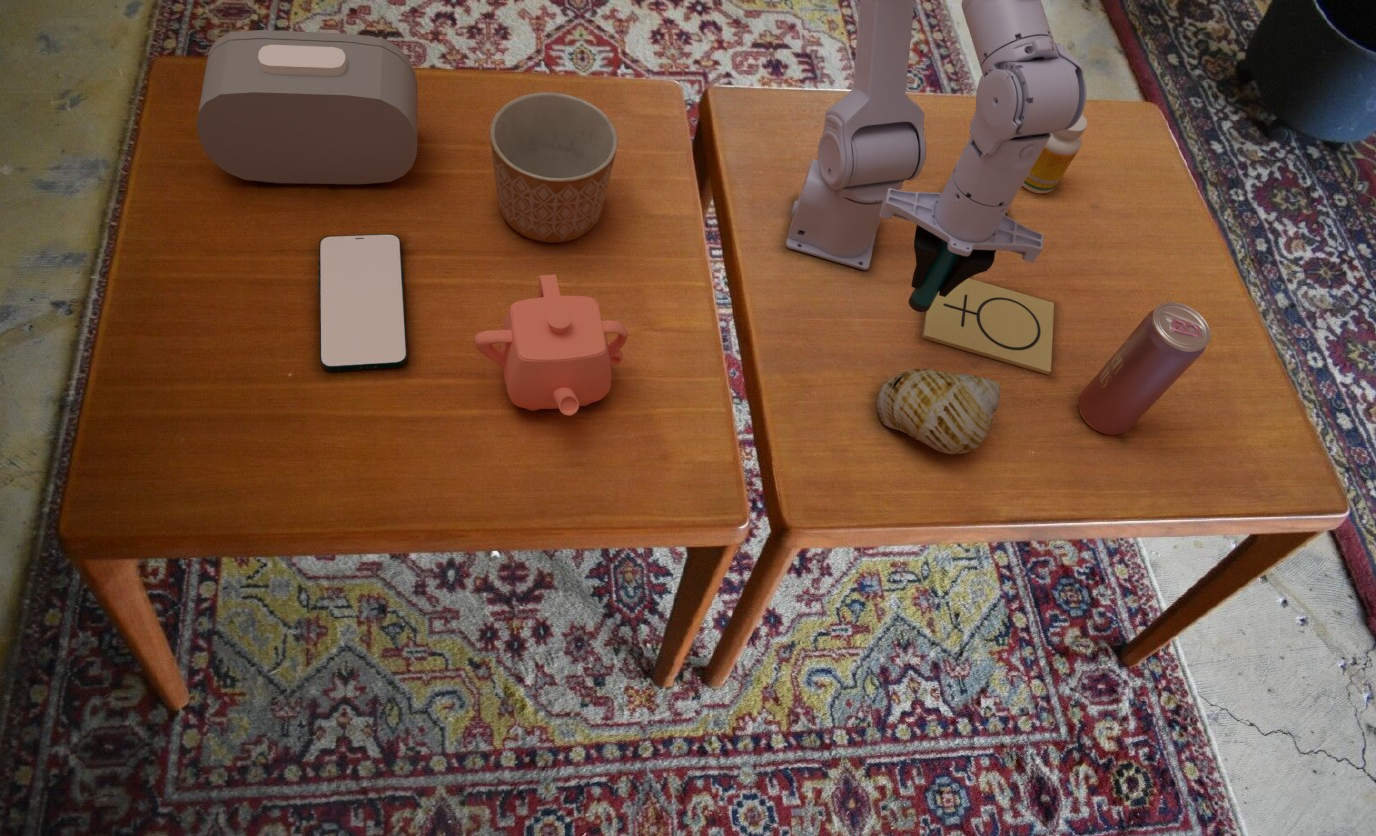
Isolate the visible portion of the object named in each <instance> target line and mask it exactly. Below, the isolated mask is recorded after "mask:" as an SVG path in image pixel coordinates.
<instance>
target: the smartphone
mask: <svg viewBox="0 0 1376 836" xmlns="http://www.w3.org/2000/svg"><path fill="white" fill-rule="evenodd" d="M318 254H319V255H318V291H319V362H320V366H321V367H322V369H324V370H325V371H327V372H343V371H344V372H345V371H346V372H347V371H364V370H377V369H378V370H379V369H394V368H395V369H397V368H401V367H403V366H405V364H406V363H408V343H407V342H408V340H407V326H406V325H407V322H406V308H405V305H406V304H405V292H404V291H405V290H404V289H405V288H404V284H405V282H404V281H405V279H404V269H403V258H402V257H403V256H402V244H401V238H400V237H399V236H398V235H396V234H394V233H374V234H344V235H343V234H342V235H326V236H324V237H322V238H321V239H320V241H319V245H318Z"/></svg>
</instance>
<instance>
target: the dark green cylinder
mask: <svg viewBox="0 0 1376 836" xmlns="http://www.w3.org/2000/svg"><path fill="white" fill-rule="evenodd" d="M958 257H959V254H956V253H952V252H950V251H949V250H948V243H947V242H946V241H944V240H942V241H941V243H940V249H939V255H938V256H937V258H936V259H935V260H934V261H933V263H932V264H931V265H930V267H929V269H928V270H927V272H926V275H925V277H924V279H923V282H922V284H921V286H920V287H919V289H916V288H913V291H912V293H910V294H911V295H910V296H909V298H908V305H909V307H910V308H911V309H912V310H913V311H915V312H917V313H926V311H928V310H929V308H930V307H931V305H932V303H933V301H934V300H935V298H936V296H937V294H938V292H939V291H940V289H941V287H942V285H943V283H944V282H945V280H946V278H947V276H948V275H949V273H950V271H951V269H952V267H953V266H954V264H955V262H956V260H957V259H958Z"/></svg>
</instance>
